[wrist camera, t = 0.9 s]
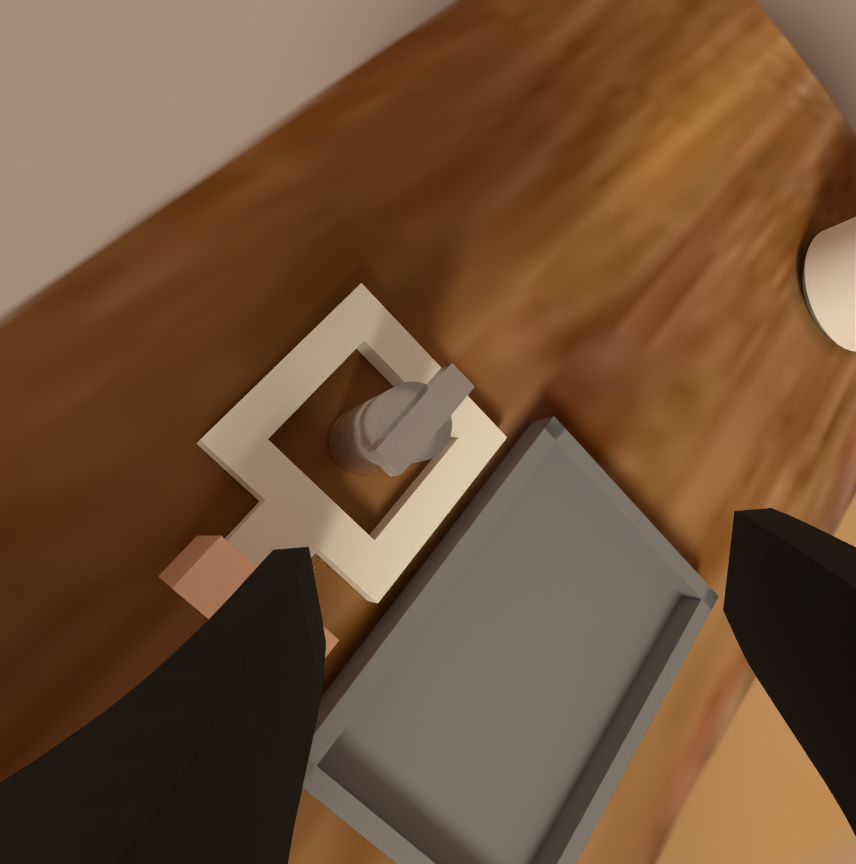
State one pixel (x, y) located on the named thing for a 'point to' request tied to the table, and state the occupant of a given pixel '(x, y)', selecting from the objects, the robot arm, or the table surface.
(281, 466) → the square frame with handle
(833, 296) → the can
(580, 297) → the table surface
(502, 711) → the tray
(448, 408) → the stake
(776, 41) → the table surface
